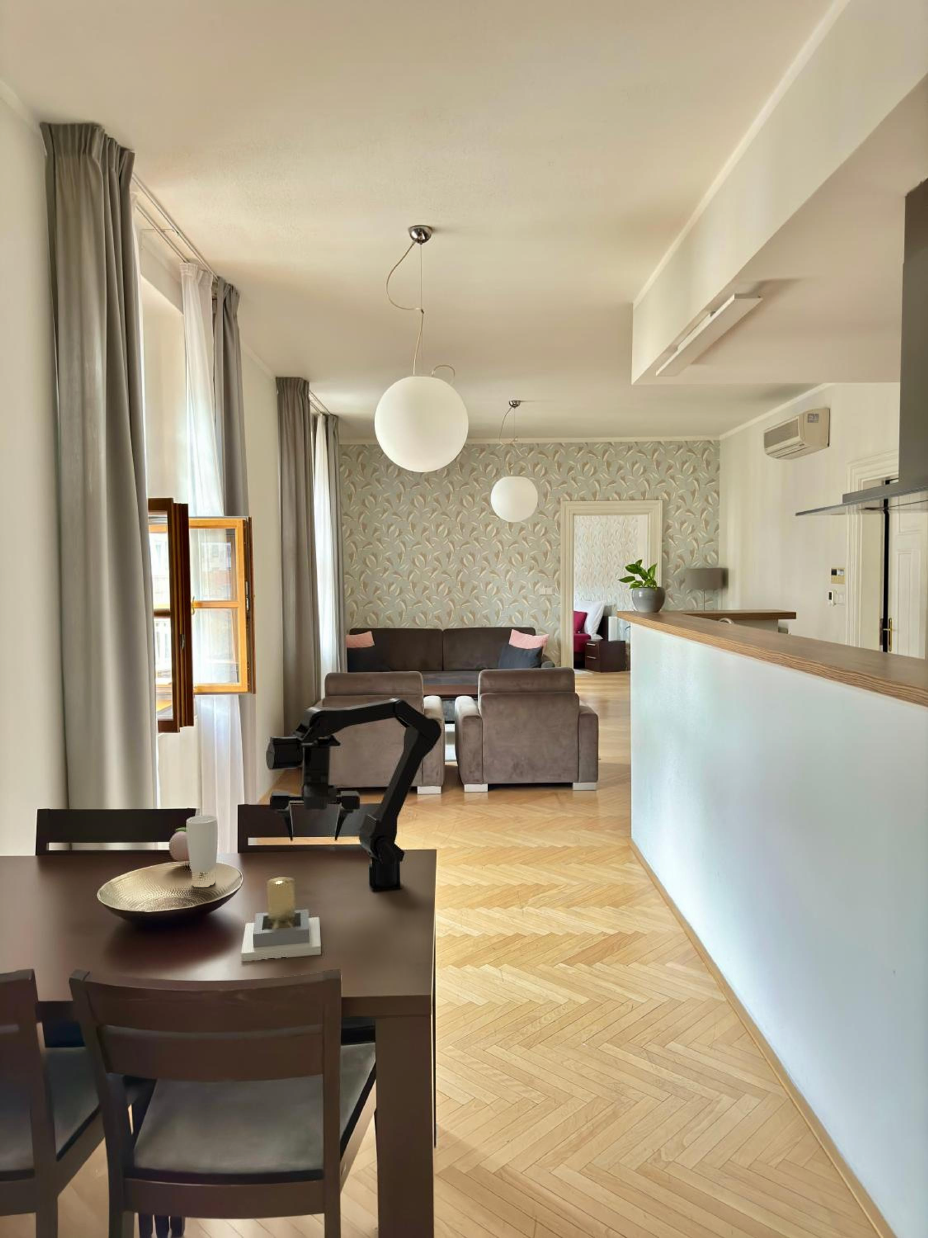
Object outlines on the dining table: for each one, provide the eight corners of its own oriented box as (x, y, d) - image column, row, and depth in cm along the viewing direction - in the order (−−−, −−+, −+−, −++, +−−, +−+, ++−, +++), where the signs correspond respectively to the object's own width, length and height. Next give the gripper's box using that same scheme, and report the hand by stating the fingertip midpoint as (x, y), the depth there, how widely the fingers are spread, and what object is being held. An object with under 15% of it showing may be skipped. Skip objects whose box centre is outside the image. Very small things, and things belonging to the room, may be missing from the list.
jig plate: (319, 924, 170) (318, 904, 170) (320, 954, 157) (320, 932, 156) (246, 931, 168) (245, 910, 168) (241, 961, 154) (240, 939, 154)
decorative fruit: (161, 870, 205) (159, 828, 204) (183, 859, 212) (182, 819, 212) (193, 874, 202) (192, 832, 201) (215, 863, 209) (214, 822, 209)
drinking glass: (200, 892, 189) (198, 824, 189) (181, 886, 194) (179, 820, 193) (225, 883, 195) (223, 817, 194) (207, 877, 199) (205, 813, 198)
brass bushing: (288, 927, 166) (287, 875, 165) (300, 935, 162) (298, 882, 161) (264, 933, 163) (262, 880, 162) (275, 941, 159) (273, 888, 158)
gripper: (269, 774, 174) (266, 851, 174) (362, 775, 177) (359, 851, 177) (272, 764, 185) (269, 837, 185) (359, 765, 188) (357, 836, 188)
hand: (313, 840), depth 183 cm, fingers open, 9 cm apart
